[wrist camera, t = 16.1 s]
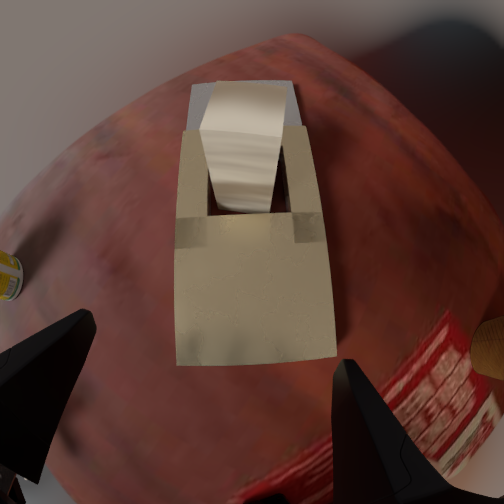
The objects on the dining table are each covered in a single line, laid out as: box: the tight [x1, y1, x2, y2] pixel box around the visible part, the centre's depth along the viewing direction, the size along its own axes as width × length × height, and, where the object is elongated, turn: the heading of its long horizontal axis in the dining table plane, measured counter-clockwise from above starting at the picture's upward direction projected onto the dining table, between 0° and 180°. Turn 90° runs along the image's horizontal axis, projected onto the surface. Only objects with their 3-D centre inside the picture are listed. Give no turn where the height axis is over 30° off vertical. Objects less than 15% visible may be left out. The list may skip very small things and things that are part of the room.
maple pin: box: [199, 81, 287, 214], centre depth 20 cm, size 5×5×11 cm
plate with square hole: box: [174, 80, 337, 366], centre depth 24 cm, size 30×12×2 cm, turn 3°
